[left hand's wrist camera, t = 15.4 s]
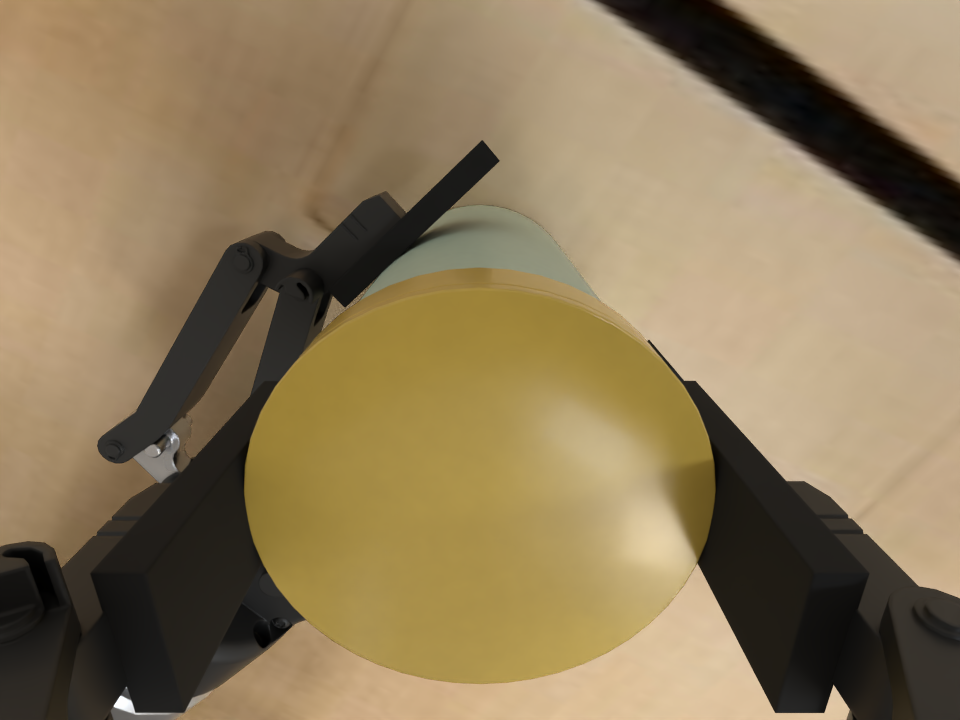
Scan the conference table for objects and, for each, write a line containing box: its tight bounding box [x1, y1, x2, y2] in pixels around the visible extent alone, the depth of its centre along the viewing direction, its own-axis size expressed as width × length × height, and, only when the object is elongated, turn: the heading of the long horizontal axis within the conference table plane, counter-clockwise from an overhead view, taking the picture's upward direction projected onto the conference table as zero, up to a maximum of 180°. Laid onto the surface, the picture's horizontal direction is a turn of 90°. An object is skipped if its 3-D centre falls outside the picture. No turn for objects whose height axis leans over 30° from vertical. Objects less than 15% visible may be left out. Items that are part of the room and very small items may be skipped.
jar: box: [360, 205, 600, 301], centre depth 18 cm, size 9×9×15 cm
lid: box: [244, 268, 716, 684], centre depth 12 cm, size 9×9×2 cm
